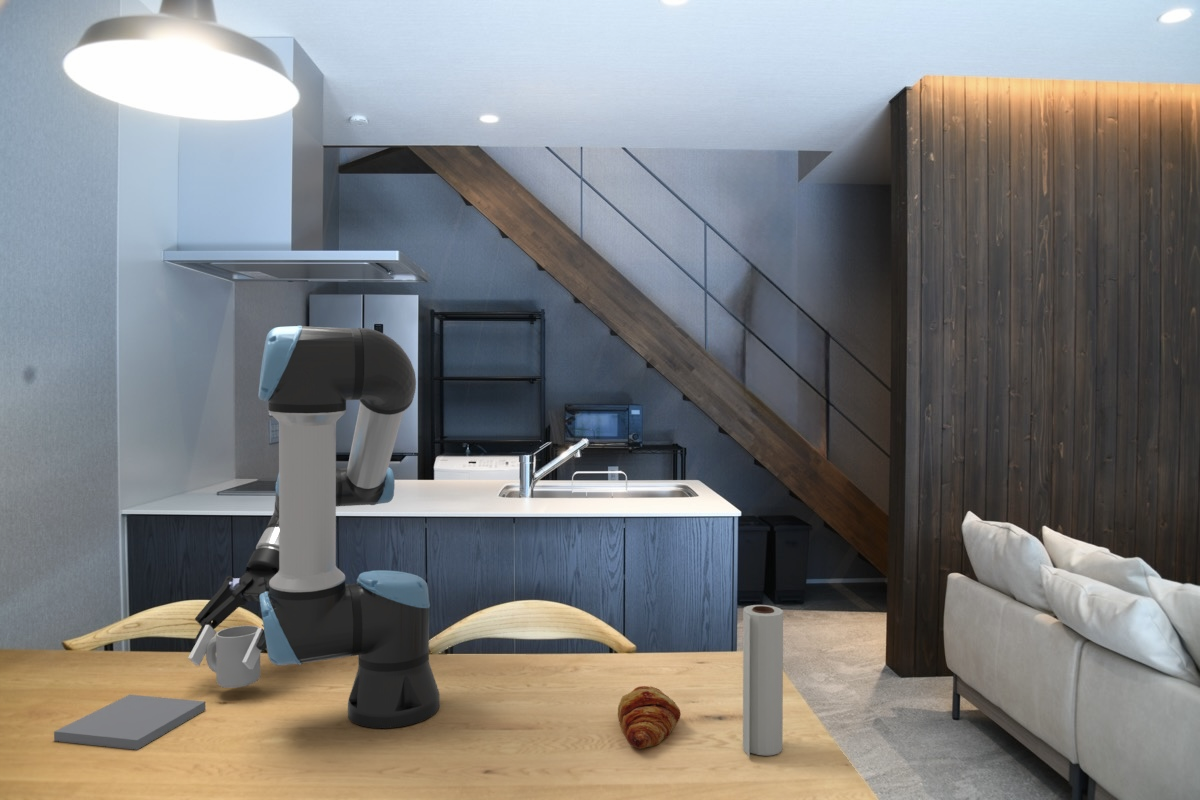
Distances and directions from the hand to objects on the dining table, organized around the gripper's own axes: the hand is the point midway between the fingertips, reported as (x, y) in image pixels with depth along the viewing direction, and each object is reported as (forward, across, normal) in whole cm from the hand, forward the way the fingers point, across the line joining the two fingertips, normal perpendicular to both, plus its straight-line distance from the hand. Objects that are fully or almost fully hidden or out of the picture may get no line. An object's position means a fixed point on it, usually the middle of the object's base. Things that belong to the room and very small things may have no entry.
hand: (220, 663), depth 139 cm
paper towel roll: (+5, -93, -5) cm, 93 cm away
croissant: (+2, -76, -8) cm, 76 cm away
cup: (+1, 0, -5) cm, 5 cm away
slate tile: (+13, +7, +4) cm, 15 cm away
